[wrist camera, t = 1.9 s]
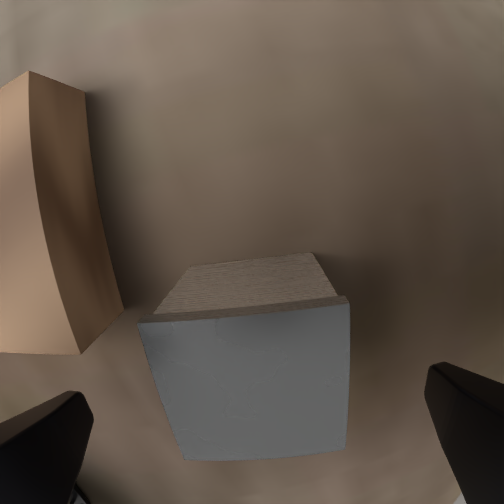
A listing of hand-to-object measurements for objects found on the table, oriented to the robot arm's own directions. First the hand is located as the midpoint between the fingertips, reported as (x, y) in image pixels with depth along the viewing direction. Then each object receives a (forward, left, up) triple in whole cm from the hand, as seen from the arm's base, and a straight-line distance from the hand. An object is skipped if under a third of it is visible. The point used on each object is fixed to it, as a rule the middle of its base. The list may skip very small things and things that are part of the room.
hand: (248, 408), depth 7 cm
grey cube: (0, 0, -5) cm, 5 cm away
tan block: (+5, +10, -6) cm, 12 cm away
